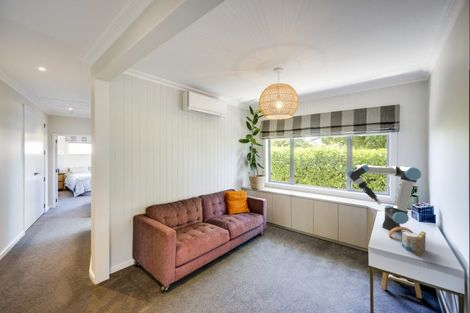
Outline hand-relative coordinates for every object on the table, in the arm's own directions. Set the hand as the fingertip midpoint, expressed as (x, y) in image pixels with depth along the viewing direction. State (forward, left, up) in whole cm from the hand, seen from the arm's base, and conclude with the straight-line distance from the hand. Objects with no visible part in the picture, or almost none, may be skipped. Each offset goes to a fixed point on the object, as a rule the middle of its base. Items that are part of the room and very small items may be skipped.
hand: (380, 203), depth 187 cm
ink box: (+8, +23, -30) cm, 39 cm away
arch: (-11, +14, -30) cm, 35 cm away
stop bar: (+10, +30, -30) cm, 44 cm away
